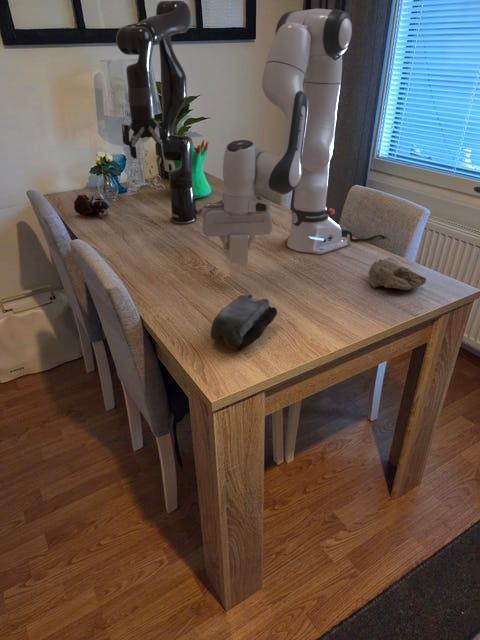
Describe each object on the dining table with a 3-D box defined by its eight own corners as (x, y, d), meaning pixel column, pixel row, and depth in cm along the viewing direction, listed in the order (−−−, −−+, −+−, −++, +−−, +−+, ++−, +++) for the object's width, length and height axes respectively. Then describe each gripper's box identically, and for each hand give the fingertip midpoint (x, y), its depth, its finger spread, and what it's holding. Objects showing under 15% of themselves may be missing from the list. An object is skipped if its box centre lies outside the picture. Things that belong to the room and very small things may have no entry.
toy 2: (167, 190, 223) (163, 137, 210) (207, 188, 227) (205, 135, 214) (172, 202, 206) (167, 145, 193) (214, 199, 210) (213, 143, 197)
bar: (217, 229, 153) (218, 206, 149) (232, 228, 154) (233, 206, 149) (230, 263, 130) (230, 237, 126) (247, 262, 131) (248, 237, 127)
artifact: (387, 301, 128) (428, 294, 133) (394, 279, 124) (436, 272, 129) (353, 270, 142) (391, 265, 147) (358, 249, 138) (397, 245, 142)
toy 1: (101, 187, 180) (72, 186, 186) (93, 207, 178) (64, 205, 183) (117, 205, 191) (89, 203, 196) (109, 223, 188) (82, 221, 194)
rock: (246, 362, 102) (246, 333, 98) (204, 348, 107) (203, 320, 103) (278, 325, 116) (280, 298, 112) (240, 314, 121) (241, 288, 116)
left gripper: (124, 105, 133) (131, 161, 142) (167, 102, 140) (171, 156, 149) (115, 103, 138) (122, 157, 147) (156, 100, 145) (161, 152, 154)
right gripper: (202, 207, 121) (203, 254, 128) (275, 205, 124) (272, 251, 131) (200, 200, 126) (201, 245, 133) (270, 198, 129) (267, 243, 136)
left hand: (146, 156), depth 148 cm, fingers open, 8 cm apart
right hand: (237, 248), depth 132 cm, fingers closed on bar, 5 cm apart
